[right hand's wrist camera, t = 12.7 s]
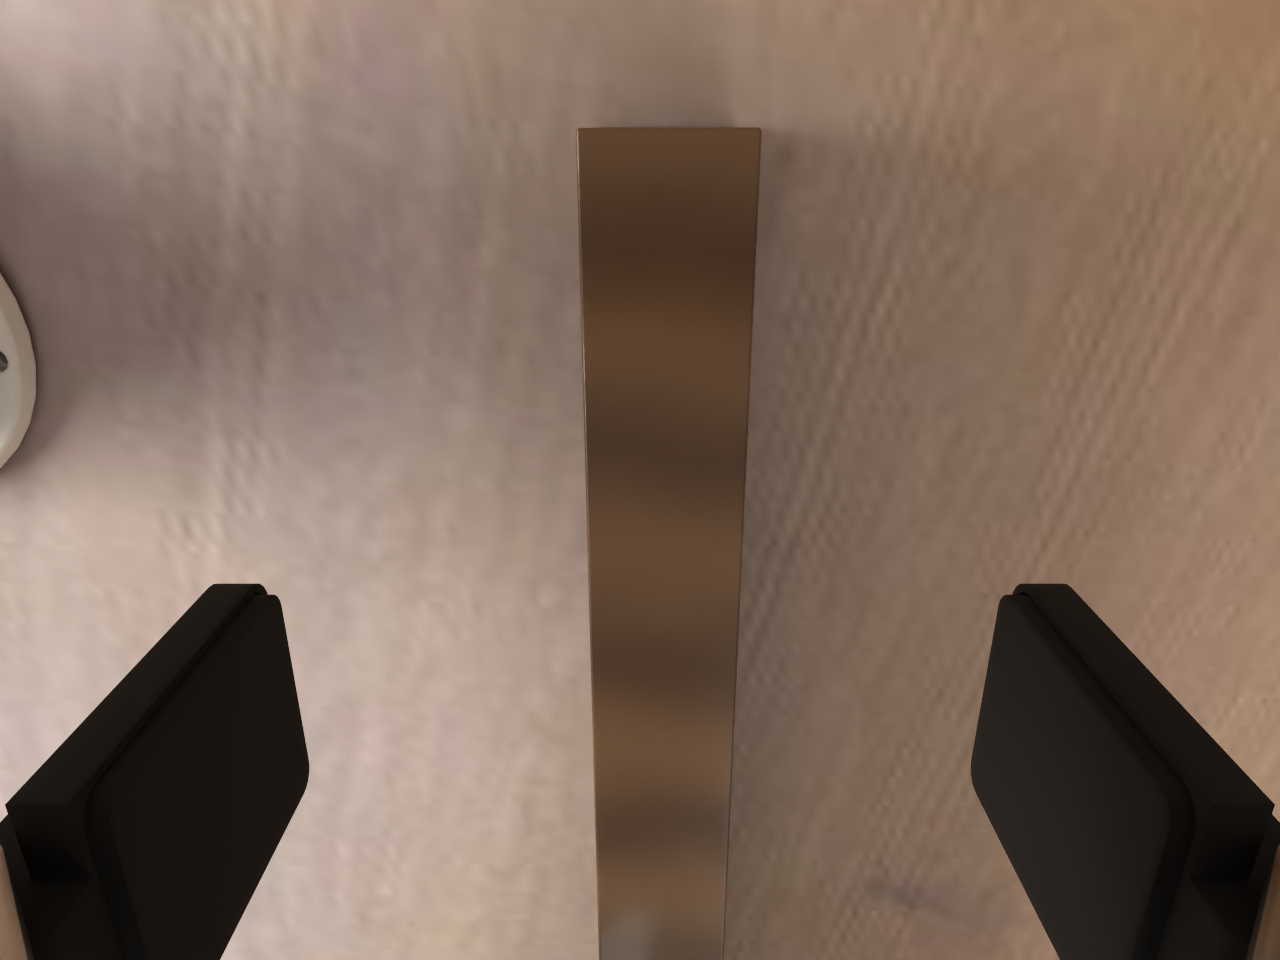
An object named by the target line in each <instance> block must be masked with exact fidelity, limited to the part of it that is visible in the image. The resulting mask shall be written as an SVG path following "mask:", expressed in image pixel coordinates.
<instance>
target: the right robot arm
mask: <svg viewBox="0 0 1280 960" xmlns="http://www.w3.org/2000/svg"><path fill="white" fill-rule="evenodd" d="M35 398H36V363H35V358H34V353H33V348H32V344H31V339H30V334H29V331H28V328H27V326H26V323H25V321H24V318H23V316H22V313H21V311H20V308H19V306H18V303H17V300H16V298H15V297H14V295H13V293H12V292H11V290H10V288H9V287H8V285H7V283H6V282H5V280H4V278H3V277H2V275H1V273H0V468H1V467H2V466H3V465H4V464H5V463H6V462H7V460H8V459H9V458H10V457H11V456H12V454H13V453H14V452H15V451H16V450H17V448H18V447H19V446H20V443H21V441H22V439H23V437H24V435H25V433H26V431H27V429H28V427H29V425H30V422H31V418H32V413H33V408H34V403H35ZM308 776H309V760H308V754H307V748H306V743H305V737H304V731H303V726H302V720H301V714H300V709H299V703H298V697H297V692H296V686H295V680H294V675H293V669H292V663H291V658H290V652H289V646H288V641H287V635H286V629H285V623H284V618H283V612H282V607H281V603H280V600H279V598H278V597H277V596H276V595H268V594H267V592H266V590H265V588H264V587H263V586H262V585H261V584H213V585H212V586H210V587H209V588H208V589H207V590H206V591H205V592H204V593H203V594H202V595H201V596H200V598H199V599H198V600H197V601H196V602H195V603H194V604H193V605H192V606H191V607H190V608H189V609H188V610H187V611H186V612H185V614H184V615H183V616H182V617H181V618H180V619H179V620H178V621H177V622H176V623H175V624H174V625H173V626H172V627H171V628H170V630H169V631H168V632H167V633H166V634H165V635H164V636H163V637H162V638H161V639H160V640H159V641H158V642H157V643H156V644H155V646H154V647H153V648H152V649H151V650H150V651H149V652H148V653H147V654H146V655H145V656H144V657H143V658H142V659H141V660H140V662H139V663H138V664H137V665H136V666H135V667H134V668H133V669H132V670H131V671H130V672H129V673H128V674H127V675H126V676H125V678H124V679H123V680H122V681H121V682H120V683H119V684H118V685H117V686H116V687H115V688H114V689H113V690H112V691H111V692H110V694H109V695H108V696H107V697H106V698H105V699H104V700H103V701H102V702H101V703H100V704H99V705H98V706H97V707H96V708H95V710H94V711H93V712H92V713H91V714H90V715H89V716H88V717H87V718H86V719H85V720H84V721H83V722H82V723H81V724H80V726H79V727H78V728H77V729H76V730H75V731H74V732H73V733H72V734H71V735H70V736H69V737H68V738H67V739H66V740H65V742H64V743H63V744H62V745H61V746H60V747H59V748H58V749H57V750H56V751H55V752H54V753H53V754H52V755H51V756H50V758H49V759H48V760H47V761H46V762H45V763H44V764H43V765H42V766H41V767H40V768H39V769H38V770H37V771H36V772H35V774H34V775H33V776H32V777H31V778H30V779H29V780H28V781H27V782H26V783H25V784H24V785H23V786H22V787H21V788H20V790H19V791H18V792H17V793H16V794H15V795H14V796H13V797H12V798H11V799H10V800H9V801H8V802H7V803H6V804H5V806H6V809H7V812H8V815H7V816H6V817H5V818H4V819H3V820H2V821H1V822H0V960H220V958H221V956H222V954H223V953H224V951H225V949H226V947H227V945H228V943H229V941H230V939H231V937H232V935H233V933H234V931H235V929H236V927H237V925H238V923H239V921H240V919H241V917H242V915H243V913H244V911H245V909H246V907H247V905H248V903H249V901H250V899H251V897H252V895H253V893H254V891H255V889H256V887H257V885H258V883H259V881H260V879H261V877H262V875H263V873H264V871H265V869H266V867H267V865H268V863H269V861H270V859H271V857H272V855H273V853H274V852H275V850H276V848H277V846H278V844H279V842H280V840H281V838H282V836H283V834H284V832H285V830H286V828H287V826H288V824H289V822H290V820H291V818H292V816H293V814H294V812H295V810H296V808H297V806H298V804H299V802H300V800H301V798H302V796H303V794H304V792H305V789H306V786H307V782H308ZM971 776H972V782H973V786H974V789H975V792H976V794H977V796H978V798H979V800H980V802H981V804H982V806H983V808H984V810H985V812H986V814H987V816H988V818H989V820H990V822H991V824H992V826H993V828H994V830H995V832H996V834H997V836H998V838H999V840H1000V842H1001V844H1002V846H1003V848H1004V850H1005V852H1006V853H1007V855H1008V857H1009V859H1010V861H1011V863H1012V865H1013V867H1014V869H1015V871H1016V873H1017V875H1018V877H1019V879H1020V881H1021V883H1022V885H1023V887H1024V889H1025V891H1026V893H1027V895H1028V897H1029V899H1030V901H1031V903H1032V905H1033V907H1034V909H1035V911H1036V913H1037V915H1038V917H1039V919H1040V921H1041V923H1042V925H1043V927H1044V929H1045V931H1046V933H1047V935H1048V937H1049V939H1050V941H1051V943H1052V945H1053V947H1054V949H1055V951H1056V953H1057V954H1058V956H1059V958H1060V960H1280V822H1279V821H1278V820H1277V819H1276V818H1275V817H1274V816H1273V815H1272V812H1273V809H1274V806H1275V804H1274V803H1273V802H1272V801H1271V800H1270V799H1269V798H1268V797H1267V796H1266V795H1265V794H1264V793H1263V792H1262V791H1261V790H1260V788H1259V787H1258V786H1257V785H1256V784H1255V783H1254V782H1253V781H1252V780H1251V779H1250V778H1249V777H1248V776H1247V775H1246V774H1245V772H1244V771H1243V770H1242V769H1241V768H1240V767H1239V766H1238V765H1237V764H1236V763H1235V762H1234V761H1233V760H1232V759H1231V758H1230V756H1229V755H1228V754H1227V753H1226V752H1225V751H1224V750H1223V749H1222V748H1221V747H1220V746H1219V745H1218V744H1217V743H1216V742H1215V740H1214V739H1213V738H1212V737H1211V736H1210V735H1209V734H1208V733H1207V732H1206V731H1205V730H1204V729H1203V728H1202V727H1201V726H1200V724H1199V723H1198V722H1197V721H1196V720H1195V719H1194V718H1193V717H1192V716H1191V715H1190V714H1189V713H1188V712H1187V711H1186V710H1185V708H1184V707H1183V706H1182V705H1181V704H1180V703H1179V702H1178V701H1177V700H1176V699H1175V698H1174V697H1173V696H1172V695H1171V694H1170V692H1169V691H1168V690H1167V689H1166V688H1165V687H1164V686H1163V685H1162V684H1161V683H1160V682H1159V681H1158V680H1157V679H1156V678H1155V676H1154V675H1153V674H1152V673H1151V672H1150V671H1149V670H1148V669H1147V668H1146V667H1145V666H1144V665H1143V664H1142V663H1141V662H1140V660H1139V659H1138V658H1137V657H1136V656H1135V655H1134V654H1133V653H1132V652H1131V651H1130V650H1129V649H1128V648H1127V647H1126V646H1125V644H1124V643H1123V642H1122V641H1121V640H1120V639H1119V638H1118V637H1117V636H1116V635H1115V634H1114V633H1113V632H1112V631H1111V630H1110V628H1109V627H1108V626H1107V625H1106V624H1105V623H1104V622H1103V621H1102V620H1101V619H1100V618H1099V617H1098V616H1097V615H1096V614H1095V612H1094V611H1093V610H1092V609H1091V608H1090V607H1089V606H1088V605H1087V604H1086V603H1085V602H1084V601H1083V600H1082V599H1081V598H1080V596H1079V595H1078V594H1077V593H1076V592H1075V591H1074V590H1073V589H1072V588H1071V587H1070V586H1068V585H1067V584H1019V585H1018V586H1017V587H1016V588H1015V590H1014V592H1013V594H1012V595H1004V596H1003V597H1002V598H1001V600H1000V603H999V607H998V612H997V618H996V623H995V629H994V635H993V641H992V646H991V652H990V658H989V663H988V669H987V675H986V680H985V686H984V692H983V697H982V703H981V709H980V714H979V720H978V726H977V731H976V737H975V743H974V748H973V754H972V760H971Z"/></svg>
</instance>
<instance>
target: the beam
mask: <svg viewBox="0 0 1280 960" xmlns="http://www.w3.org/2000/svg"><path fill="white" fill-rule="evenodd" d="M576 147H577V183H578V219H579V255H580V290H581V326H582V362H583V398H584V434H585V470H586V505H587V541H588V577H589V613H590V649H591V685H592V720H593V756H594V792H595V828H596V864H597V900H598V935H599V960H723V956H724V934H725V912H726V891H727V869H728V847H729V826H730V804H731V782H732V760H733V739H734V717H735V695H736V674H737V652H738V630H739V609H740V587H741V565H742V544H743V522H744V500H745V478H746V457H747V435H748V413H749V392H750V370H751V348H752V327H753V305H754V283H755V262H756V240H757V218H758V196H759V175H760V153H761V129H760V128H754V127H687V128H579V129H577V131H576Z"/></svg>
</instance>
